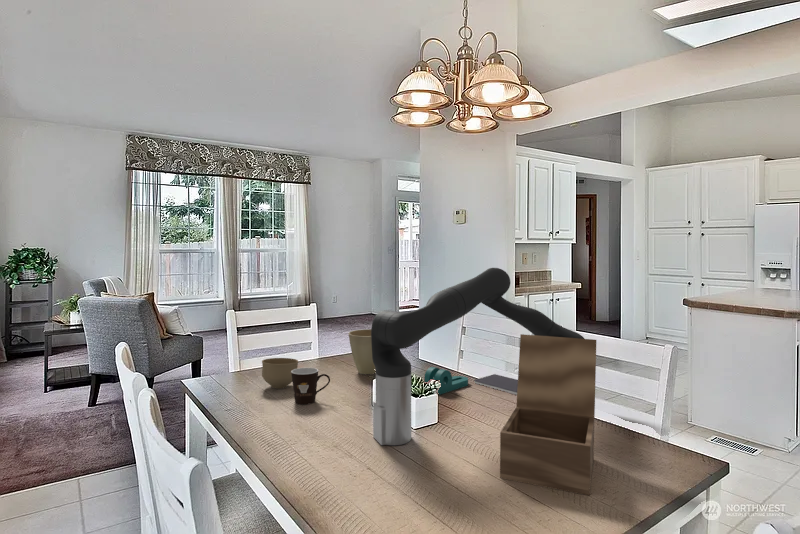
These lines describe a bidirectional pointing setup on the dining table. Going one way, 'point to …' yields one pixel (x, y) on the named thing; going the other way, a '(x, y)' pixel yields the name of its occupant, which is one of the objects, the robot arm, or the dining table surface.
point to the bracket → (445, 379)
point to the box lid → (557, 374)
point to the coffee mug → (306, 384)
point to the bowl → (278, 371)
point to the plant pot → (362, 350)
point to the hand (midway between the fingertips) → (556, 373)
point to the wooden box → (548, 449)
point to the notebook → (499, 383)
